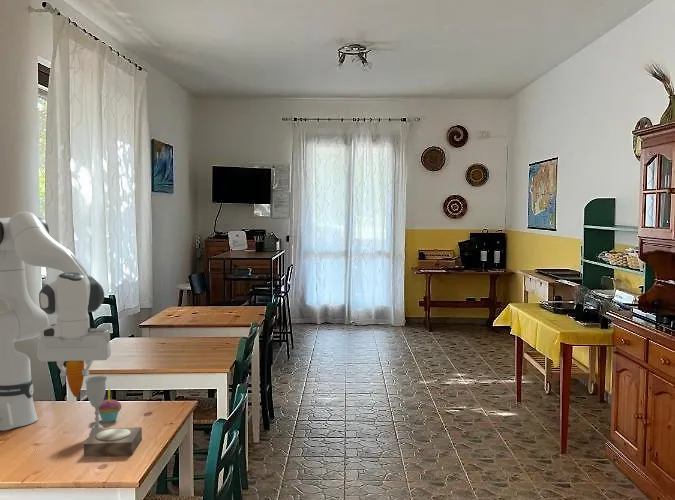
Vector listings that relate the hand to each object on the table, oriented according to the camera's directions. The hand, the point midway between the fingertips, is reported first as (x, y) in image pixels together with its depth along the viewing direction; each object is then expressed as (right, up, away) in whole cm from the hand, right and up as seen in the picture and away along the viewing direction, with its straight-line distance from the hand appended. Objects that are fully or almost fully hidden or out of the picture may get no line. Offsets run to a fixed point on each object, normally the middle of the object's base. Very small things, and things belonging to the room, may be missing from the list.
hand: (75, 375), depth 203 cm
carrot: (0, -7, 0) cm, 7 cm away
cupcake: (-3, -23, +39) cm, 45 cm away
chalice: (-2, -24, +25) cm, 34 cm away
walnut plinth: (+8, -24, +10) cm, 27 cm away
